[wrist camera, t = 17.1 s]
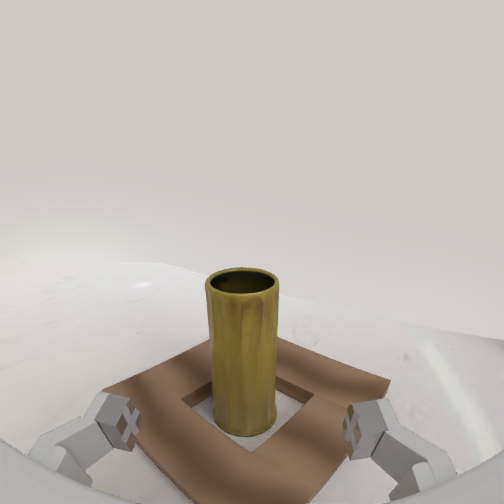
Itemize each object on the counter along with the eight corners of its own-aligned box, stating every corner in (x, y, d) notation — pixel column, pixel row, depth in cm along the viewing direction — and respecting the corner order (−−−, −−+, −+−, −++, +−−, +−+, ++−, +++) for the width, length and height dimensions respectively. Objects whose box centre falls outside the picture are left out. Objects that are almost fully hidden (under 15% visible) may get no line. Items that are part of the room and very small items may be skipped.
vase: (247, 385, 28) (244, 260, 24) (290, 413, 24) (303, 279, 20) (201, 411, 24) (182, 278, 20) (243, 447, 20) (237, 307, 16)
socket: (243, 333, 38) (243, 321, 38) (386, 393, 25) (390, 380, 24) (107, 403, 23) (101, 390, 23) (258, 550, 10) (259, 546, 9)
